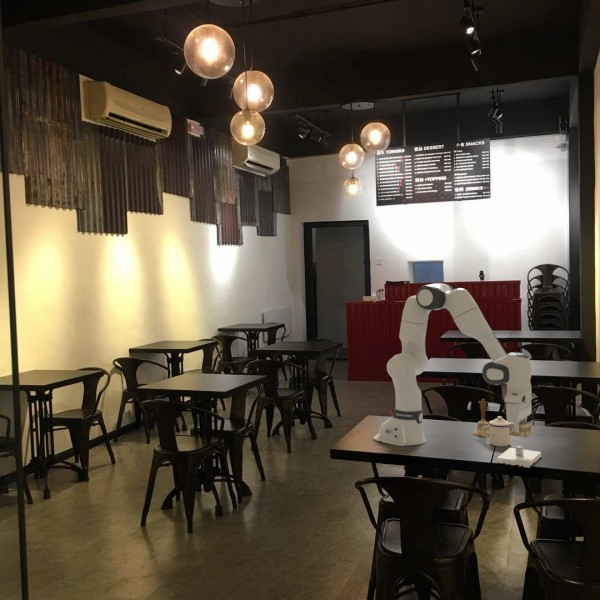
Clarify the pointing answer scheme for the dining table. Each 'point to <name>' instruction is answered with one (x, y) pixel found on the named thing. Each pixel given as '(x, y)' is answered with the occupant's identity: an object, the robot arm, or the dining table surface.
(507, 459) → the post base
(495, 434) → the teacup with lid
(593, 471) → the dining table surface
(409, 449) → the dining table surface
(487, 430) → the hand bell
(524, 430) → the beige wooden block
